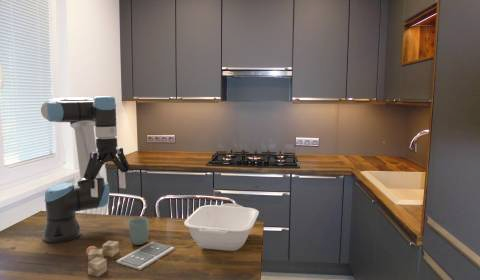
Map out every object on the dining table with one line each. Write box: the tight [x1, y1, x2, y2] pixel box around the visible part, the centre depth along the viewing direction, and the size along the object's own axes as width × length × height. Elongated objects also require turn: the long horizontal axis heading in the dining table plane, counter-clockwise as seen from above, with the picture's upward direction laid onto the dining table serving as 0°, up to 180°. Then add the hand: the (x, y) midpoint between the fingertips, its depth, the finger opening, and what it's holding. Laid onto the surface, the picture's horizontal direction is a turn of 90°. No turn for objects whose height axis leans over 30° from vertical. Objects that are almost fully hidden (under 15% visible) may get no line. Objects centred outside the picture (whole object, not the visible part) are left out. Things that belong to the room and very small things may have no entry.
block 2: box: [87, 257, 108, 277], centre depth 129 cm, size 4×4×4 cm
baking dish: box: [183, 203, 260, 252], centre depth 154 cm, size 34×28×13 cm
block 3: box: [101, 240, 120, 258], centre depth 144 cm, size 4×4×4 cm
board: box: [116, 241, 175, 271], centre depth 143 cm, size 12×20×1 cm, turn 152°
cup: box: [128, 217, 149, 246], centre depth 154 cm, size 8×8×10 cm
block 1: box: [87, 248, 104, 262], centre depth 137 cm, size 4×4×4 cm
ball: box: [86, 245, 98, 256], centre depth 142 cm, size 4×4×4 cm
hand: (109, 192), depth 138 cm, fingers open, 13 cm apart
